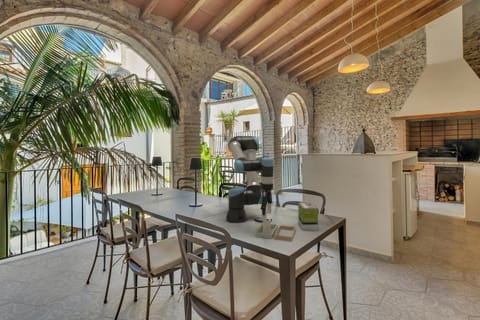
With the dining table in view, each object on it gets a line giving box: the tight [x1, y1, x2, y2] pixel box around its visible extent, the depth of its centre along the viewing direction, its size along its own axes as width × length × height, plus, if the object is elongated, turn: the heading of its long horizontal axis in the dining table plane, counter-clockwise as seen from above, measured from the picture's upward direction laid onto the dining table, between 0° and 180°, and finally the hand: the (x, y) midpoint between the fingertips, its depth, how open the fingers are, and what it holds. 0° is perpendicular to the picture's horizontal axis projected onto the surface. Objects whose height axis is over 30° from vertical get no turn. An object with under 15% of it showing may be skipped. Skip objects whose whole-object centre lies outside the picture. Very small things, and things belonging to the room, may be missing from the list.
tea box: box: [297, 201, 319, 231], centre depth 163 cm, size 15×10×15 cm
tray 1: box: [254, 223, 279, 240], centre depth 153 cm, size 10×18×2 cm, turn 160°
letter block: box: [262, 218, 272, 234], centre depth 153 cm, size 4×4×8 cm
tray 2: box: [273, 224, 297, 242], centre depth 149 cm, size 10×18×2 cm, turn 160°
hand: (266, 216), depth 153 cm, fingers open, 13 cm apart
